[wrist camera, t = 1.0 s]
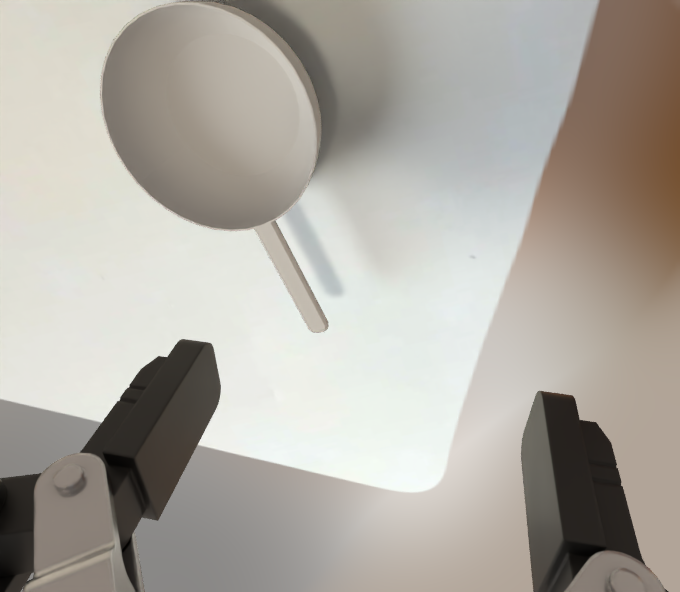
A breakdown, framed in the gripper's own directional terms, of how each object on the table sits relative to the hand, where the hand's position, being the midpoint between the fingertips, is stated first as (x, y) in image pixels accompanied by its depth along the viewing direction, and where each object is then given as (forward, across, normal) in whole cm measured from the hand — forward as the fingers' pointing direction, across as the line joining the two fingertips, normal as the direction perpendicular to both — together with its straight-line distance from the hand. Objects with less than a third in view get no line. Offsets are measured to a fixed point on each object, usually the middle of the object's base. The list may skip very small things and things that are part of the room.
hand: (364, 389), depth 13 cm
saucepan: (+17, +8, +2) cm, 19 cm away
